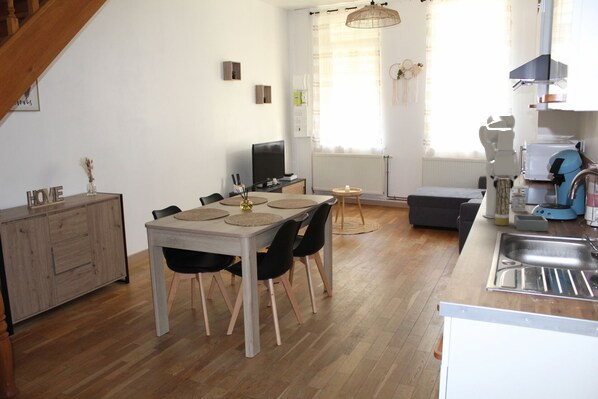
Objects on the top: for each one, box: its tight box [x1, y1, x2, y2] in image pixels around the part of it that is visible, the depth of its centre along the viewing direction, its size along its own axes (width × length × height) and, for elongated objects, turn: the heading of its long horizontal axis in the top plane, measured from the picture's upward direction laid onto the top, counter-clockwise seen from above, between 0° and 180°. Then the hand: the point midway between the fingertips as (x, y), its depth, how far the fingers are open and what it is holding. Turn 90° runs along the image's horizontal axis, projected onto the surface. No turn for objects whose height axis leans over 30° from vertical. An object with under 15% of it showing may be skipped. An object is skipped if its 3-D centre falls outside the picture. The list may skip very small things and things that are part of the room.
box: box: [513, 214, 549, 232], centre depth 248 cm, size 14×14×5 cm
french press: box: [509, 167, 528, 212], centre depth 292 cm, size 10×12×25 cm
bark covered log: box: [494, 176, 511, 226], centre depth 254 cm, size 7×7×25 cm
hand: (503, 188), depth 253 cm, fingers closed on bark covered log, 6 cm apart
